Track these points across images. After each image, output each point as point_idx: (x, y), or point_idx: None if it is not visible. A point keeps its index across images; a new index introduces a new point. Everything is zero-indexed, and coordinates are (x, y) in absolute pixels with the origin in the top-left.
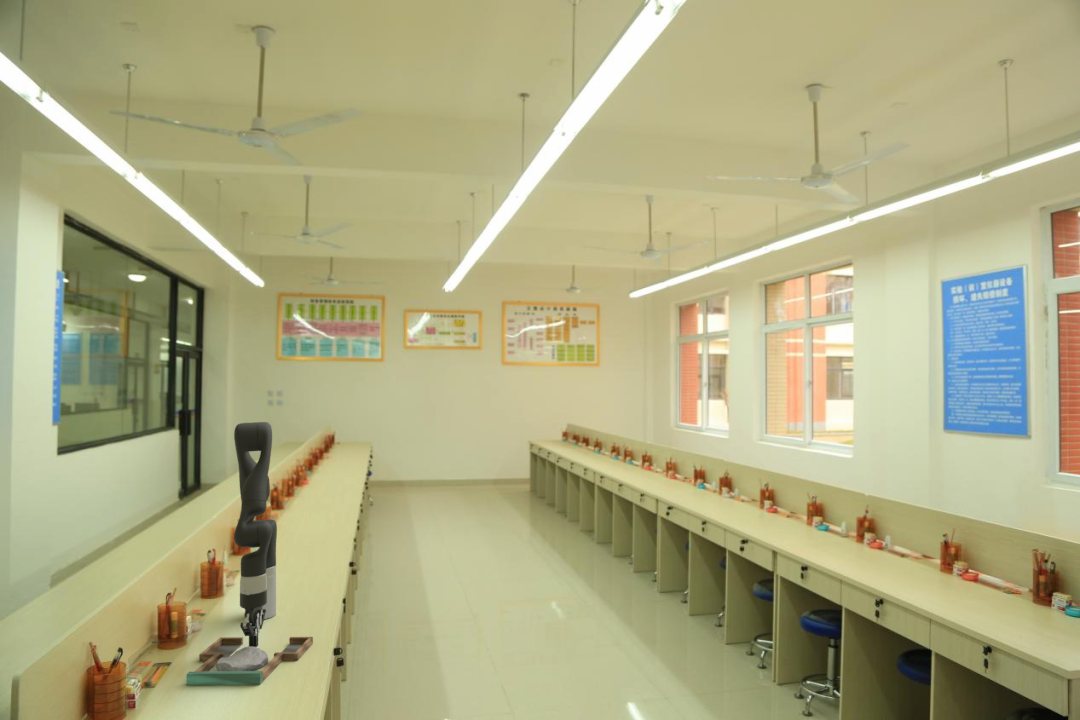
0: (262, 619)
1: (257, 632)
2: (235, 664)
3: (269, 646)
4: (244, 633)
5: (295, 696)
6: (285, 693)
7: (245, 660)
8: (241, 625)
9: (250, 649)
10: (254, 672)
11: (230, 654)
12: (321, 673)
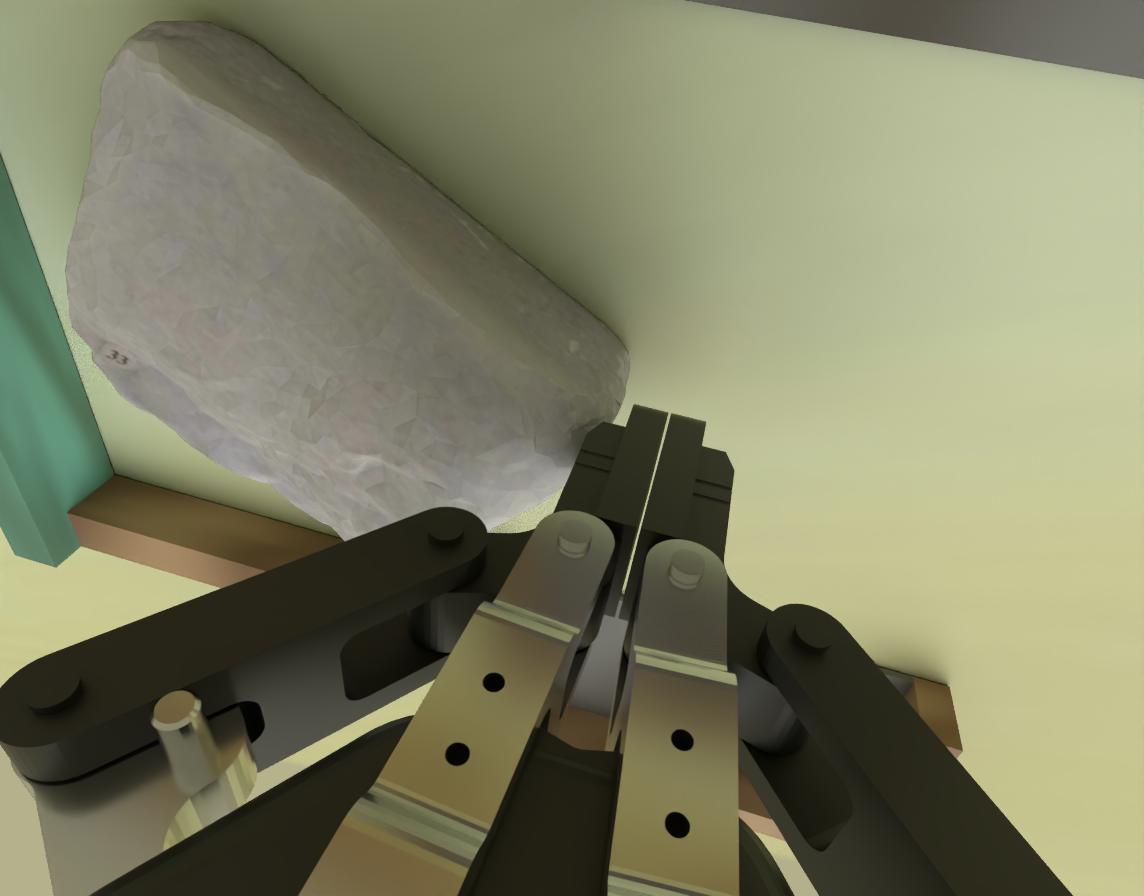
0: (818, 887)
1: (622, 649)
2: (107, 333)
3: (961, 519)
4: (352, 548)
5: (35, 650)
6: (44, 616)
7: (232, 416)
8: (17, 698)
9: (416, 469)
10: (10, 519)
11: (845, 25)
12: (306, 761)
